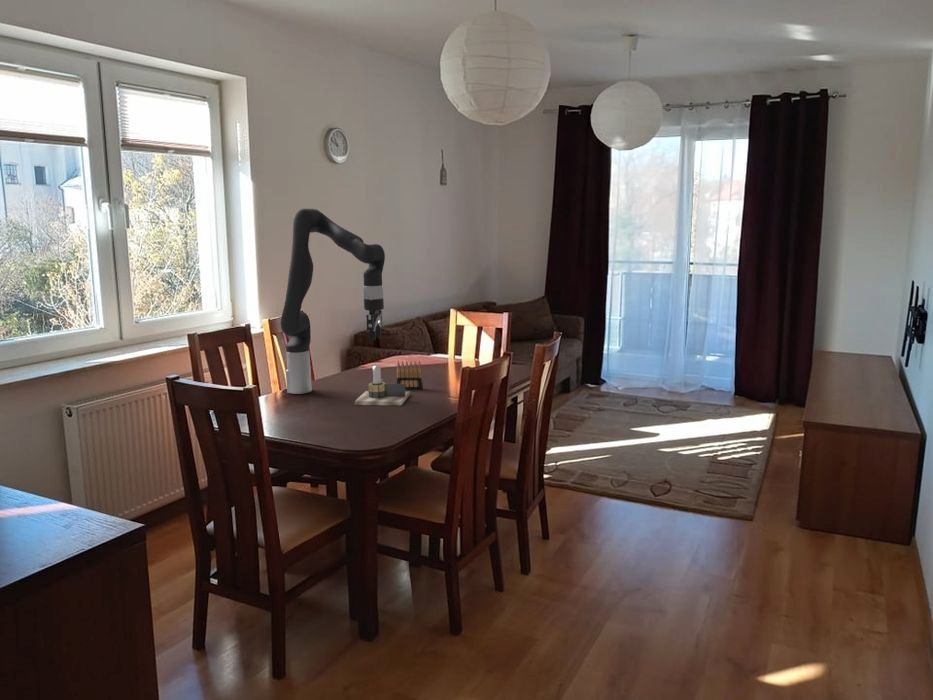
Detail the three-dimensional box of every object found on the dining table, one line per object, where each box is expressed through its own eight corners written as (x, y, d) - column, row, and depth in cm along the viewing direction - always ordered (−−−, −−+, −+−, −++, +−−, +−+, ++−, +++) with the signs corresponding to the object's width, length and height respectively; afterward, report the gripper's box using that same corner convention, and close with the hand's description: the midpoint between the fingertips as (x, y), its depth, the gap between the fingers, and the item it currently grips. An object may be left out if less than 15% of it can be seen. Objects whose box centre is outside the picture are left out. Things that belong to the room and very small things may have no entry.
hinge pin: (373, 397, 286) (371, 367, 283) (375, 395, 288) (373, 365, 286) (380, 397, 285) (379, 367, 283) (382, 395, 288) (381, 365, 286)
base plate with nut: (355, 404, 280) (354, 388, 279) (366, 394, 296) (365, 378, 295) (401, 405, 278) (400, 388, 277) (409, 395, 293) (409, 379, 292)
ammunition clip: (396, 389, 303) (395, 361, 301) (397, 388, 305) (396, 360, 303) (422, 389, 302) (421, 361, 300) (423, 388, 304) (422, 360, 302)
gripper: (368, 295, 287) (370, 335, 290) (358, 299, 273) (360, 342, 276) (387, 295, 286) (389, 336, 289) (378, 299, 272) (380, 342, 275)
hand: (375, 339), depth 283 cm, fingers open, 8 cm apart
